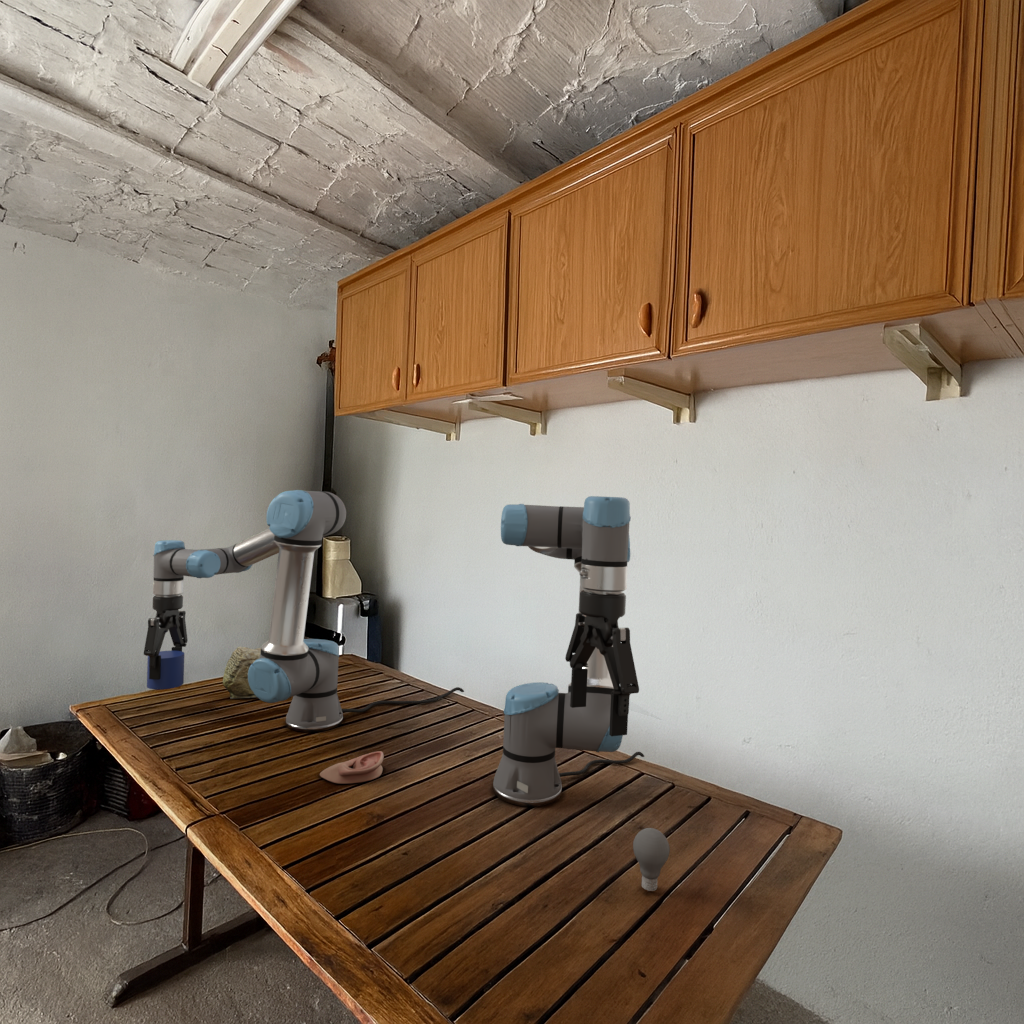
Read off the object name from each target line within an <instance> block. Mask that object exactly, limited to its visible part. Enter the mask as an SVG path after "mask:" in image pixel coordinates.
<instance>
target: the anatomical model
mask: <svg viewBox="0 0 1024 1024" xmlns="http://www.w3.org/2000/svg"><path fill="white" fill-rule="evenodd" d="M384 756H385V755H384V752H383V751H381V750H380V751H379V750H378V751H372V752H369V753H366V754H363V755H360V756H357V757H354V758H352V759H349V760H346V761H343V762H338V763H335V764H332V765H330V766H328V767H327V768H325V769H323V770H322V771H321V772H320V773H319V777H321V778H322V779H324V780H326V781H328V782H330V783H333V784H339V785H340V784H343V785H344V784H357V783H364V782H368V781H372V780H374V779H377V778H379V777H380V776H381V775H382V773H383V770H384V768H383V766H382V764H383V762H384V758H385V757H384Z"/></svg>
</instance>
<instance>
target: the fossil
mask: <svg viewBox="0 0 1024 1024" xmlns="http://www.w3.org/2000/svg"><path fill="white" fill-rule="evenodd" d="M260 653H261V647H258V648H251V647H247V646H246V647H245V646H238V647H237V648H236V649H235V650H233V651H232V653H231V656H230V657H229V659H228V660H227V663H226V666H225V668H224V671H223V675H222V676H223V677H222V685H223V687H224V688H225V690H226V691H228V693H229V698H230V699H250V698H257V697H256V695H255V694H254V692H253V691H252V690H251V688H250V685H249V682H248V670H249V668H250V666H251V664H253V663H254V661H255V660H257V659H260Z"/></svg>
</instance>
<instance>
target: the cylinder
mask: <svg viewBox="0 0 1024 1024" xmlns="http://www.w3.org/2000/svg"><path fill="white" fill-rule="evenodd" d="M159 655H161V671H160V679H159V680H155V679H149V668H150V667H149V656H147V664H146V665H147V667H146V670H147V671H146V688H148V689H149V690H157V691H158V690H170V689H171V690H172V689H176V688H179V687H181V686H183V685H184V683H185V680H184V679H185V652H184V651H183V650H182V651H172V650H160V652H159Z"/></svg>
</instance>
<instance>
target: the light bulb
mask: <svg viewBox="0 0 1024 1024" xmlns="http://www.w3.org/2000/svg"><path fill="white" fill-rule="evenodd" d="M632 850H633V854H634V856H635V859H636V861H637V862H638V865H639V870H640V874H641V887H642V889H644V891H645V890H646V891H647V892H655V891H656V890H658V878H659V877H660V874H661V870H662V868H663V867H664V865H665V864H666V862H667V861H668V859H669V856H670V850H671V849H670V843H669V841H668V839H667V837H666V836H665V834H664V833H663V832H662V831H660V830H659V829H657V828H653V827H646V828H643V829H641V830H639V831H638V833H637V834H636V835H635V837H634V839H633V842H632Z"/></svg>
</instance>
